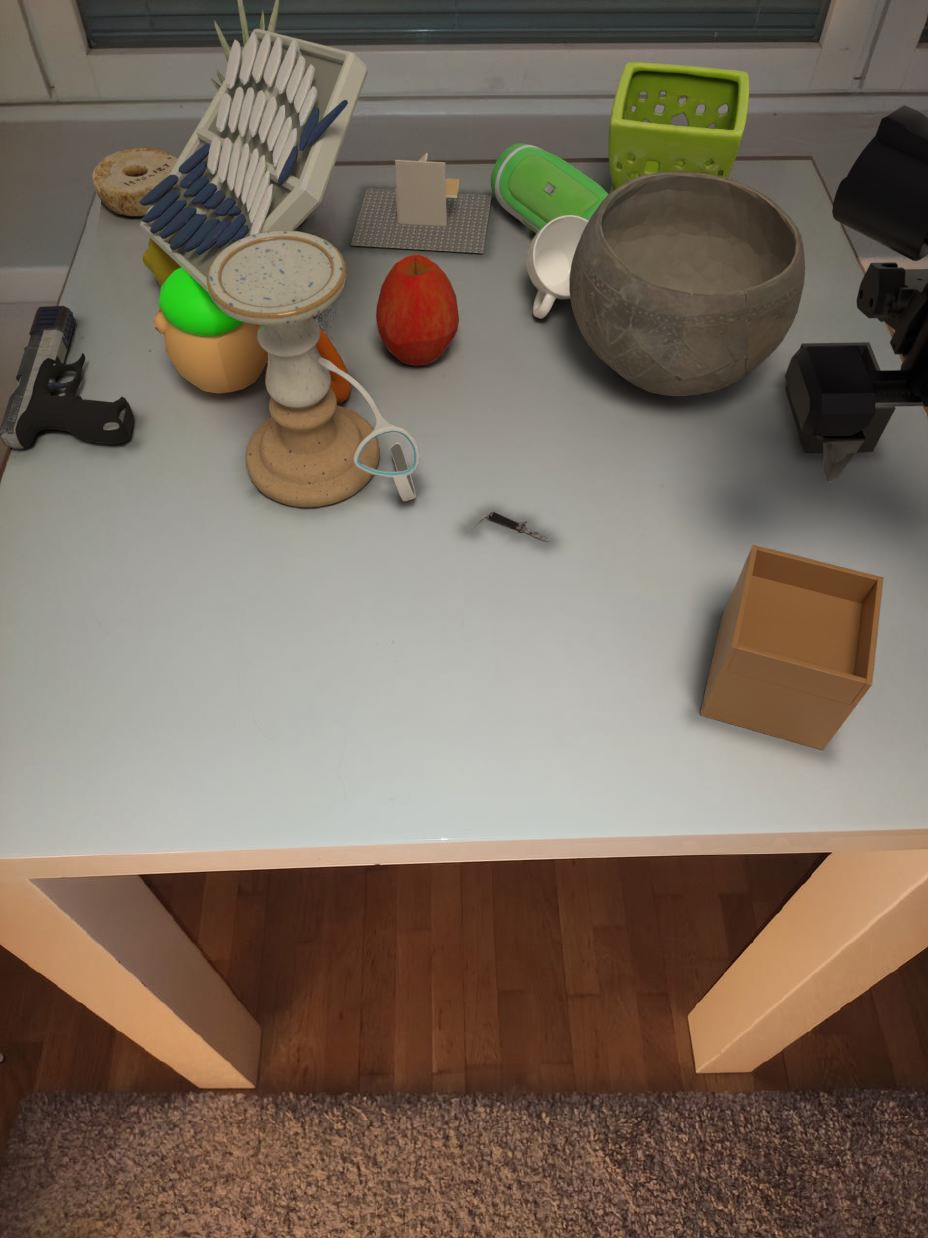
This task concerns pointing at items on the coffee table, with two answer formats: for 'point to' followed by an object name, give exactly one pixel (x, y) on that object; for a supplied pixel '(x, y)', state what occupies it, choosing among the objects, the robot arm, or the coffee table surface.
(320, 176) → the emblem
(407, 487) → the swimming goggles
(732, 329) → the bowl
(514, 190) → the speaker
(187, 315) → the figurine
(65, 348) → the handgun
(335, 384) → the orange flat curved piece
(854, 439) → the robot arm
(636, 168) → the flower pot
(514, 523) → the knife
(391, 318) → the apple
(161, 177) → the stone disc
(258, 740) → the coffee table surface
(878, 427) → the black open box
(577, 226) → the cup
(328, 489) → the candle holder
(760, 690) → the box
